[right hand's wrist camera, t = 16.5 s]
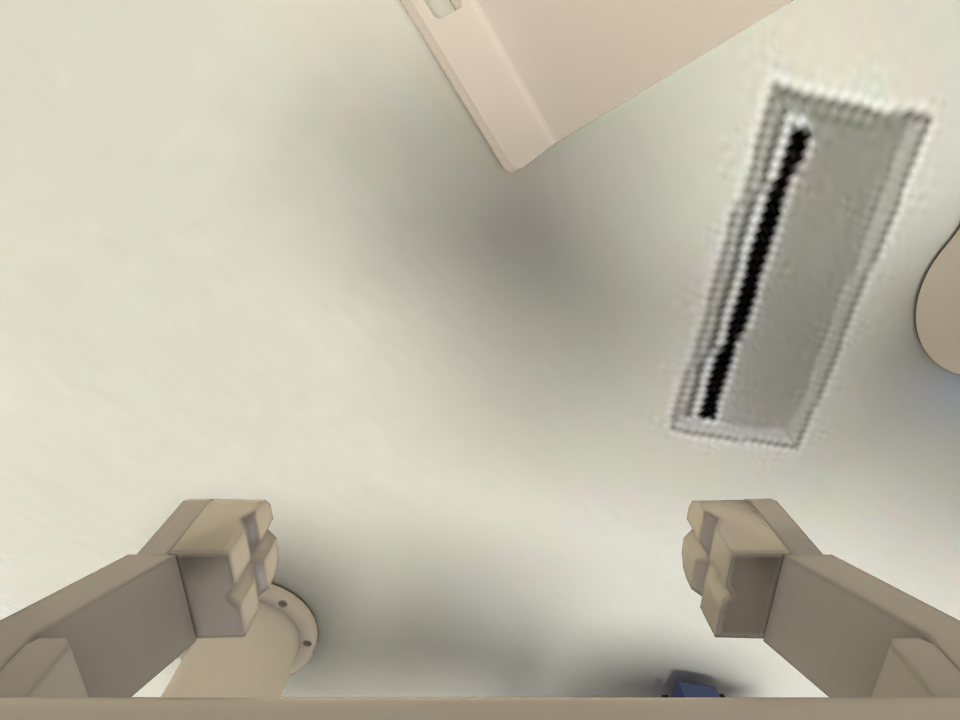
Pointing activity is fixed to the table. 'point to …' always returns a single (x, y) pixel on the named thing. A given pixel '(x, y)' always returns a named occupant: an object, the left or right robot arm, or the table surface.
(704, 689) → the block
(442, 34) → the tablet stand
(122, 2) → the table surface
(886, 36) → the table surface
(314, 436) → the table surface
